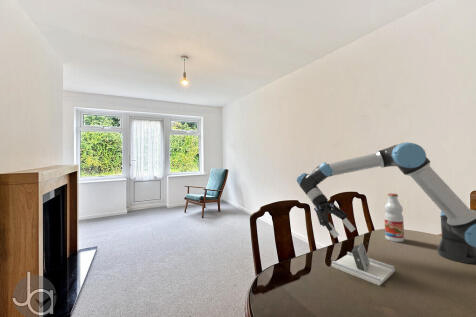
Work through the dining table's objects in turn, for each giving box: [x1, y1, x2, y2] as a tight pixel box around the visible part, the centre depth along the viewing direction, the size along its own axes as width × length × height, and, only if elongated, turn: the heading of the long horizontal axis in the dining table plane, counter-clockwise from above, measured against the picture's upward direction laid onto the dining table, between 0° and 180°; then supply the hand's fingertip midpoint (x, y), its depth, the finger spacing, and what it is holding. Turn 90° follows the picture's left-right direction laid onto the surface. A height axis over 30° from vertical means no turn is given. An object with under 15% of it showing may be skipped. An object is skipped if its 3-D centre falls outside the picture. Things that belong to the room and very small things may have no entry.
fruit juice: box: [384, 192, 405, 243], centre depth 131 cm, size 9×9×28 cm
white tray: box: [330, 251, 396, 286], centre depth 97 cm, size 20×17×2 cm
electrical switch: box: [351, 243, 370, 271], centre depth 97 cm, size 9×5×9 cm, turn 141°
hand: (345, 233), depth 101 cm, fingers open, 13 cm apart
